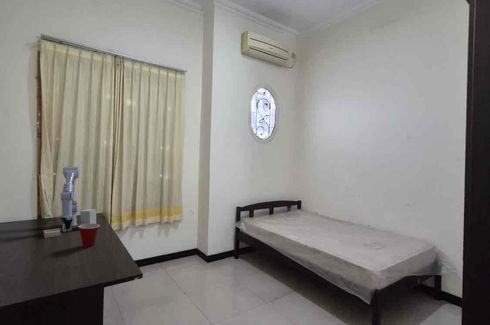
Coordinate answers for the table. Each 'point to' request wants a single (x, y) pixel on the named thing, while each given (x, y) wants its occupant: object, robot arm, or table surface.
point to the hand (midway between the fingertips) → (67, 228)
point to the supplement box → (88, 216)
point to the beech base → (51, 233)
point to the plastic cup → (88, 234)
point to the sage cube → (65, 229)
